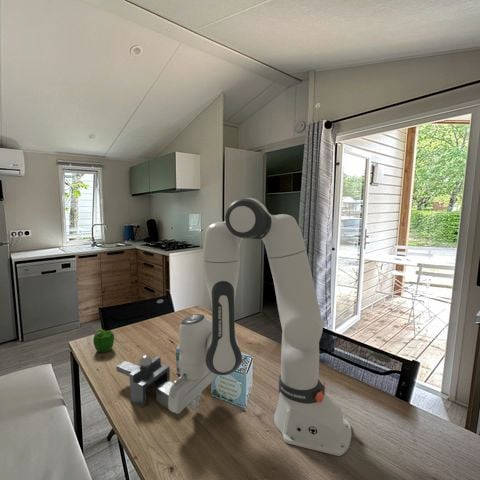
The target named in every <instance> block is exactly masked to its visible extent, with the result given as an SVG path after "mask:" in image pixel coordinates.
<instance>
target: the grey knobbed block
mask: <svg viewBox="0 0 480 480" xmlns="http://www.w3.org/2000/svg"><path fill="white" fill-rule="evenodd" d="M173 383H174V382H172V381H171V380H170V381H166V382H165V383H163V384H161V385H158V386H156V387H155V393H156V395H155V396H156V402H158V403H159V404H161V405H162V406H163V407H165V408H167V409H168V410H169V408H168V400H169V391H170V388H171V386H172V385H173Z"/></svg>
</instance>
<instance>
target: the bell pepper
mask: <svg viewBox="0 0 480 480" xmlns="http://www.w3.org/2000/svg"><path fill="white" fill-rule="evenodd" d="M96 332H97V333H95V334H94V335H93V341H92V342H93V346H94V349H95V350H96V351H97V352H98V353H102V352H103V353H107V352H110V351H112V349H113V346H114V343H115V335H114V333H113V331H112V330H111V329H110V330H104V329H102V328H100V329H99V328H98V329H97V330H96Z"/></svg>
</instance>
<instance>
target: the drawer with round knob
mask: <svg viewBox="0 0 480 480" xmlns="http://www.w3.org/2000/svg"><path fill="white" fill-rule="evenodd" d="M115 367H116V372H118V373H121V374H123V375H125V376H126V377H129V388H130V389H129V391H130V403H132V404H134V405H137V406H139V407H141V408H145V407H146V406H147V394H148V393H150V392H151V391H152V390H154V389H156V387H158V386H160V385H161V384H163V383H165V382H166V381H170V382H171V380H170V379H171V374H170V365H169V366H168V365H167V364H163V363H162V362H161V357H160V356H158V355H157V356H155V357H153V358H152V356H150V355H148V354H147V355H146V354H145V355H143V356H141V357H140V359H139V361H138V365H137V364H134V363H132V362H129V361H127V360H124V361H123V362H121V363H119V364H118V365H116V366H115Z"/></svg>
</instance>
